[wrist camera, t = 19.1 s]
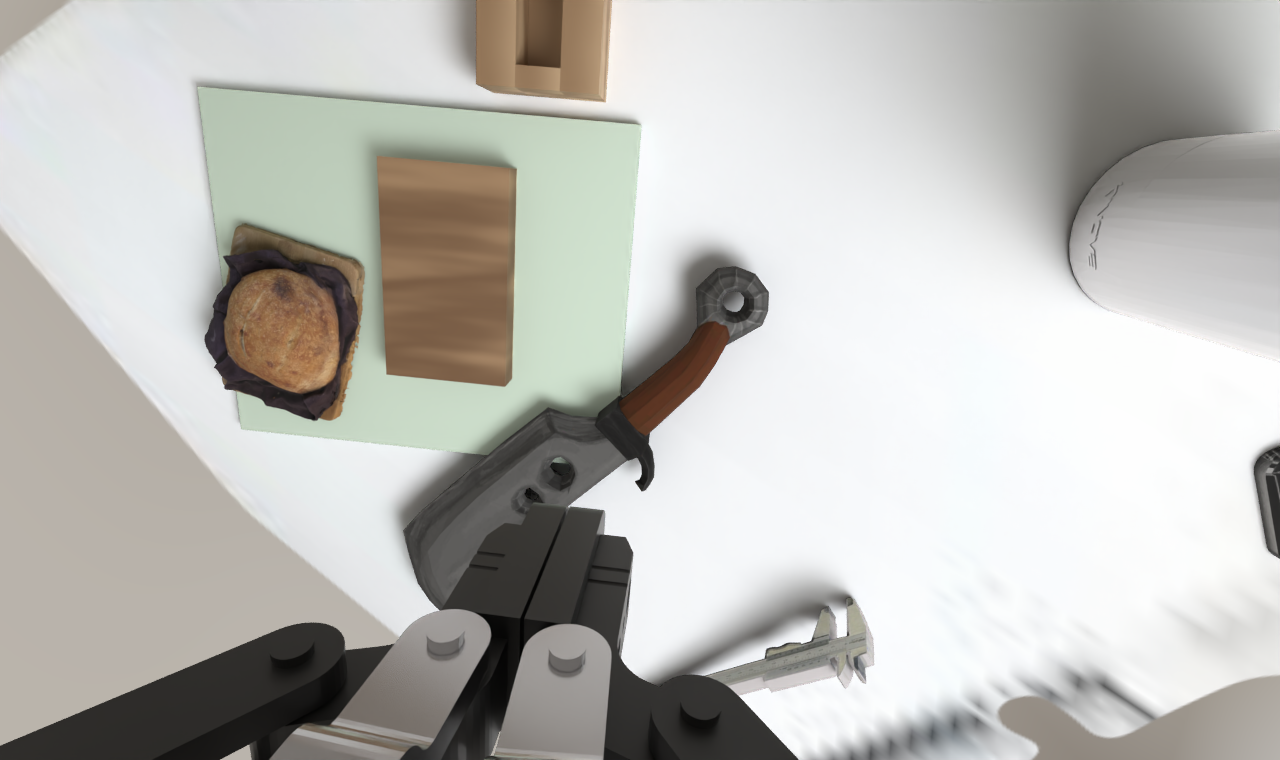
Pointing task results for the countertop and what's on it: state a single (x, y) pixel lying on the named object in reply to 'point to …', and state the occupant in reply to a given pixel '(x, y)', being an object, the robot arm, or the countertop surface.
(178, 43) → the countertop surface
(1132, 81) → the countertop surface
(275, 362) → the bread roll
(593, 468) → the knife
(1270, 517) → the phone
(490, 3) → the stand
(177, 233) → the countertop surface
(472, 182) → the board
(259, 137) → the mat
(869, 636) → the caliper
